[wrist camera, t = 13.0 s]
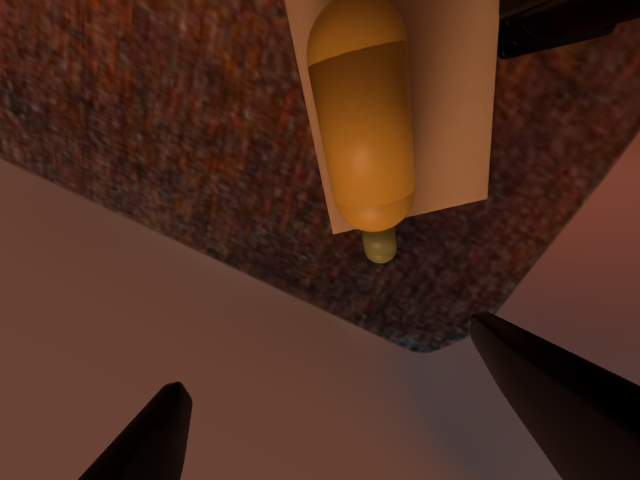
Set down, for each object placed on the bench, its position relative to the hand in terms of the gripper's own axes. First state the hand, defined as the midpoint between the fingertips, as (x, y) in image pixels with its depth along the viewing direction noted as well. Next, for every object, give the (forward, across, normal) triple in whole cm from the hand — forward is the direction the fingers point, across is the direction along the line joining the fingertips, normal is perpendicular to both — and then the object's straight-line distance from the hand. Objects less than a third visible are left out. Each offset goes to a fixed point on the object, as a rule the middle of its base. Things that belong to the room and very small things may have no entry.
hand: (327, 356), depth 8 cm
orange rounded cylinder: (+11, -4, -4) cm, 13 cm away
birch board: (+12, -7, -6) cm, 15 cm away
